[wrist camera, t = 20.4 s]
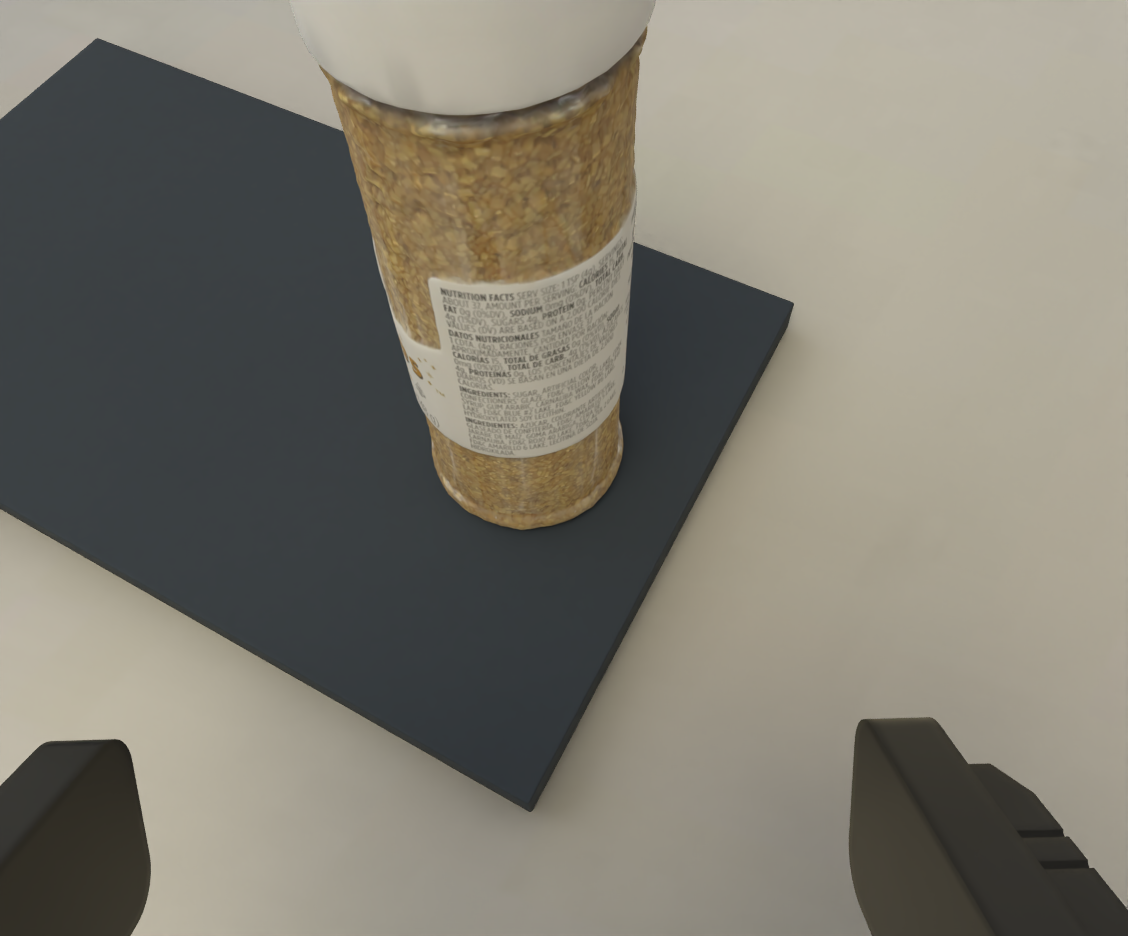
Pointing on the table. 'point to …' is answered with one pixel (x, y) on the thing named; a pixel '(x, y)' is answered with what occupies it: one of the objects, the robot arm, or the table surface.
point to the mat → (316, 418)
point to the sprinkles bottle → (499, 226)
